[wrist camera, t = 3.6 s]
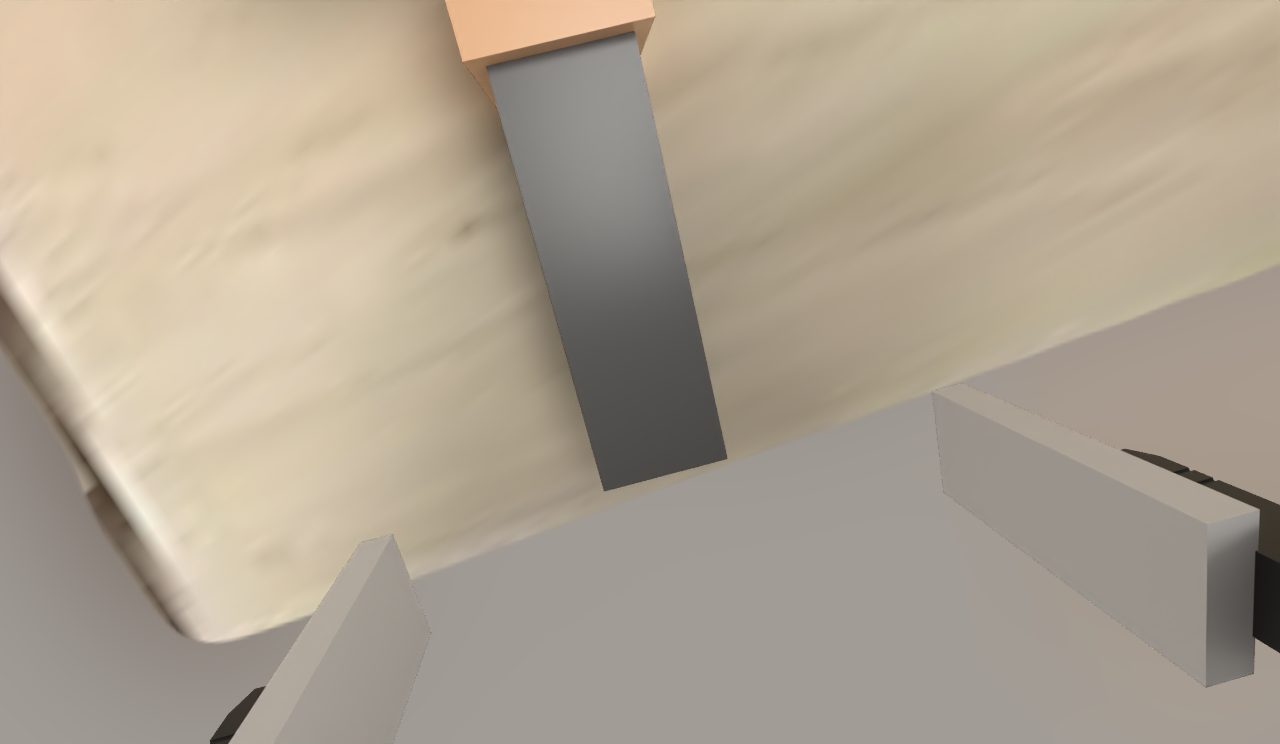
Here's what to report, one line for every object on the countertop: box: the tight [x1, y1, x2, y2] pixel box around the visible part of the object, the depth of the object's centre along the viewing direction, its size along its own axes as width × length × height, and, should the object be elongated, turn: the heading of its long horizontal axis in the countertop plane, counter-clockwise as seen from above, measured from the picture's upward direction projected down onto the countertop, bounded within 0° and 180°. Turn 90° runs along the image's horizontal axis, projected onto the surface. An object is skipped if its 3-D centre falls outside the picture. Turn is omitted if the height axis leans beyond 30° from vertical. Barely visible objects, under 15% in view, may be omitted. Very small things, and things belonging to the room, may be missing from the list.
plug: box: [445, 0, 727, 491], centre depth 23 cm, size 20×6×10 cm, turn 13°
